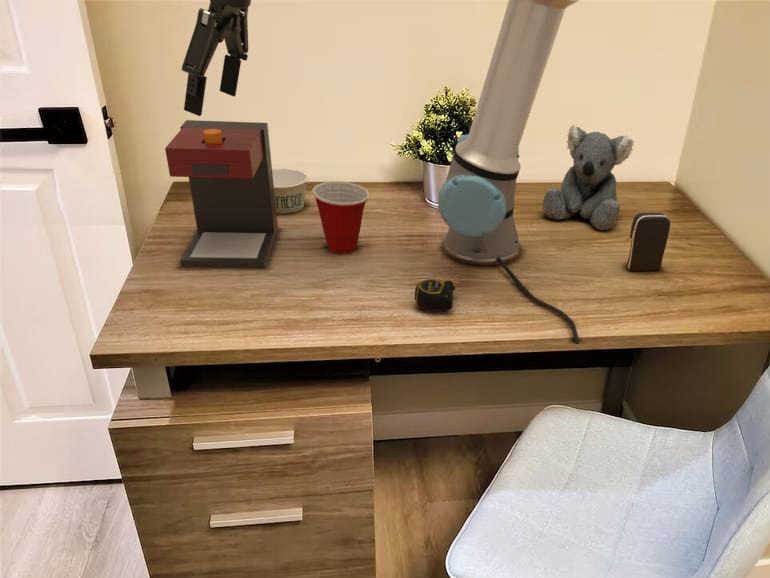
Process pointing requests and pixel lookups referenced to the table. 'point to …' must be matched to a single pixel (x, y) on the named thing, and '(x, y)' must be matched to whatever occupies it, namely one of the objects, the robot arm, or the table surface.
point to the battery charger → (648, 241)
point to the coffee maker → (227, 193)
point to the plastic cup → (341, 213)
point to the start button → (213, 136)
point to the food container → (289, 189)
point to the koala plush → (589, 179)
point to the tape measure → (434, 294)
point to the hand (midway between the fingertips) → (210, 102)
